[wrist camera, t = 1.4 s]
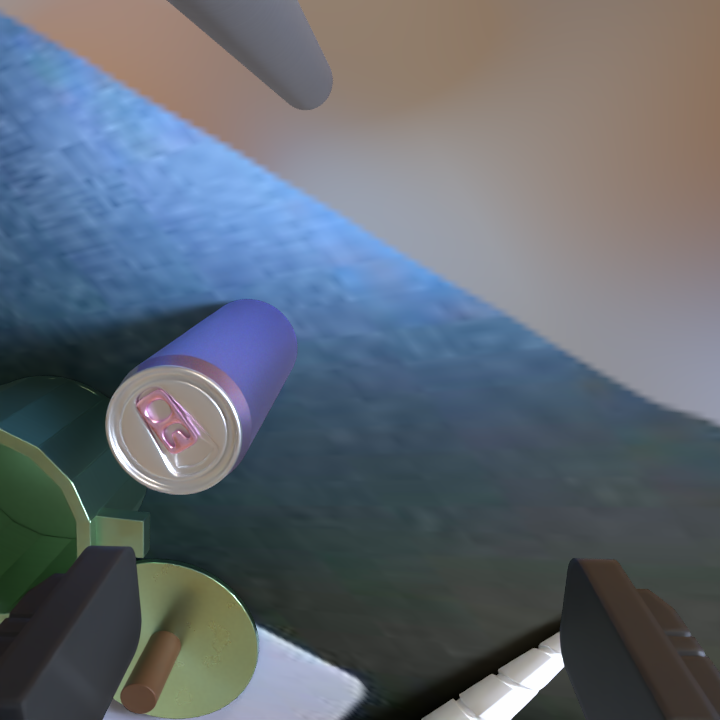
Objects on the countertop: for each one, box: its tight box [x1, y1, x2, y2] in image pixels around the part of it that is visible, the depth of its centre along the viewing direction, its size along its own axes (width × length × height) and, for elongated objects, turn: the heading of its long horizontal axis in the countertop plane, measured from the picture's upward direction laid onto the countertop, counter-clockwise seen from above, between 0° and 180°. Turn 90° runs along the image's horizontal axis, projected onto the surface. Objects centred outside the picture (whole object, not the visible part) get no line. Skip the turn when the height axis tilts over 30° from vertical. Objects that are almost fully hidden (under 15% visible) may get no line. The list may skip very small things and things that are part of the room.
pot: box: [0, 376, 150, 624], centre depth 38 cm, size 13×18×8 cm
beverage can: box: [105, 299, 297, 495], centre depth 32 cm, size 6×6×15 cm
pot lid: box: [113, 559, 259, 719], centre depth 42 cm, size 14×14×6 cm
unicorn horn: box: [421, 631, 564, 720], centre depth 43 cm, size 5×24×5 cm, turn 130°
